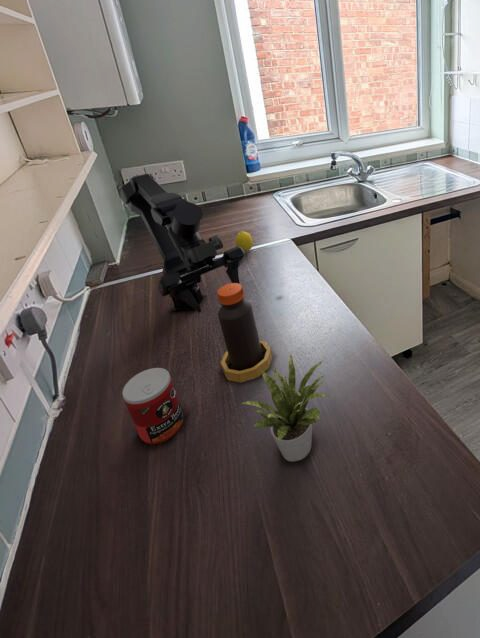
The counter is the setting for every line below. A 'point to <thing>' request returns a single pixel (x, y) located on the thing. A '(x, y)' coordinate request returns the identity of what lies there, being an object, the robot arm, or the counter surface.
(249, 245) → the lemon
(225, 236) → the counter surface
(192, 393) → the counter surface
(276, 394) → the house plant
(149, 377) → the canned food
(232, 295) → the vinegar
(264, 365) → the yellow flat ring
